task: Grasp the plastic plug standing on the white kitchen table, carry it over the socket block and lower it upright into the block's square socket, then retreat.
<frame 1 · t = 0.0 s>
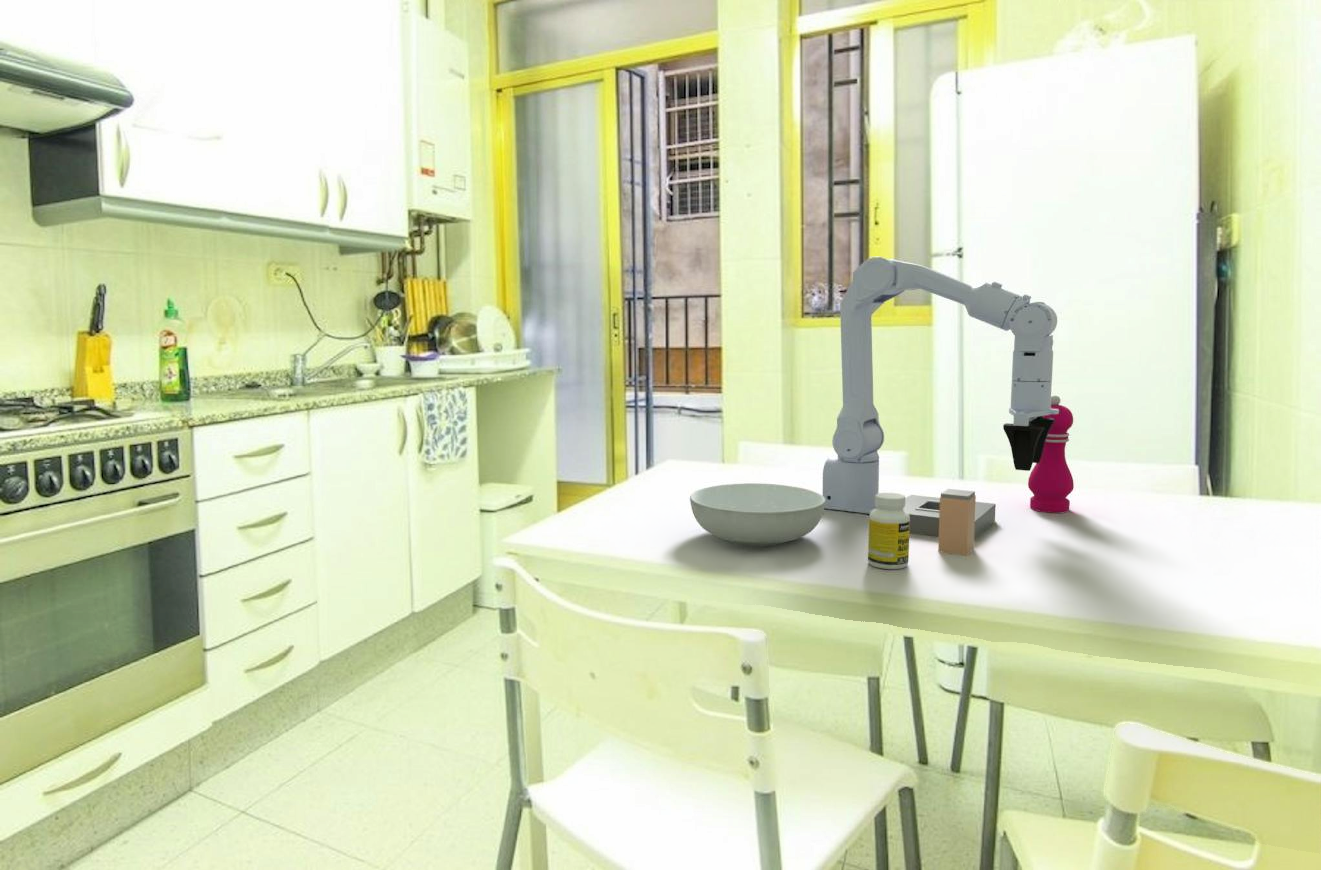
hand: (1027, 466, 129), 10 cm above the table, tool pointing down, fingers open, 7 cm apart
serving bowl: (757, 539, 127), on the table
supplement bottle: (888, 565, 112), on the table
pepper mill: (1049, 509, 143), on the table
plug: (956, 549, 119), on the table
socket block: (939, 525, 133), on the table
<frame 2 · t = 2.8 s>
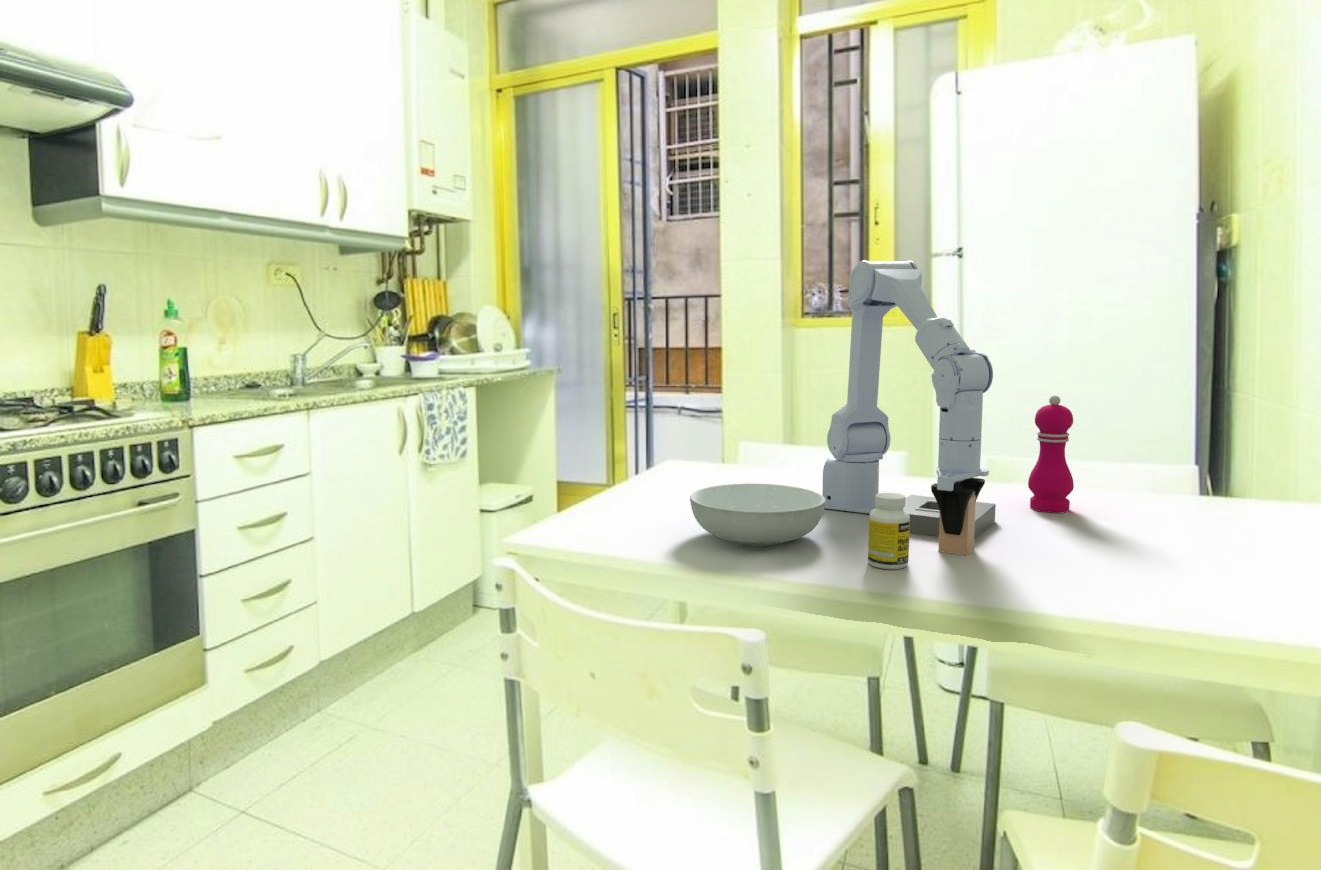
hand: (956, 530, 118), 3 cm above the table, tool pointing down, fingers closed on plug, 4 cm apart
plug: (956, 549, 119), on the table, touching gripper
everything else where it was.
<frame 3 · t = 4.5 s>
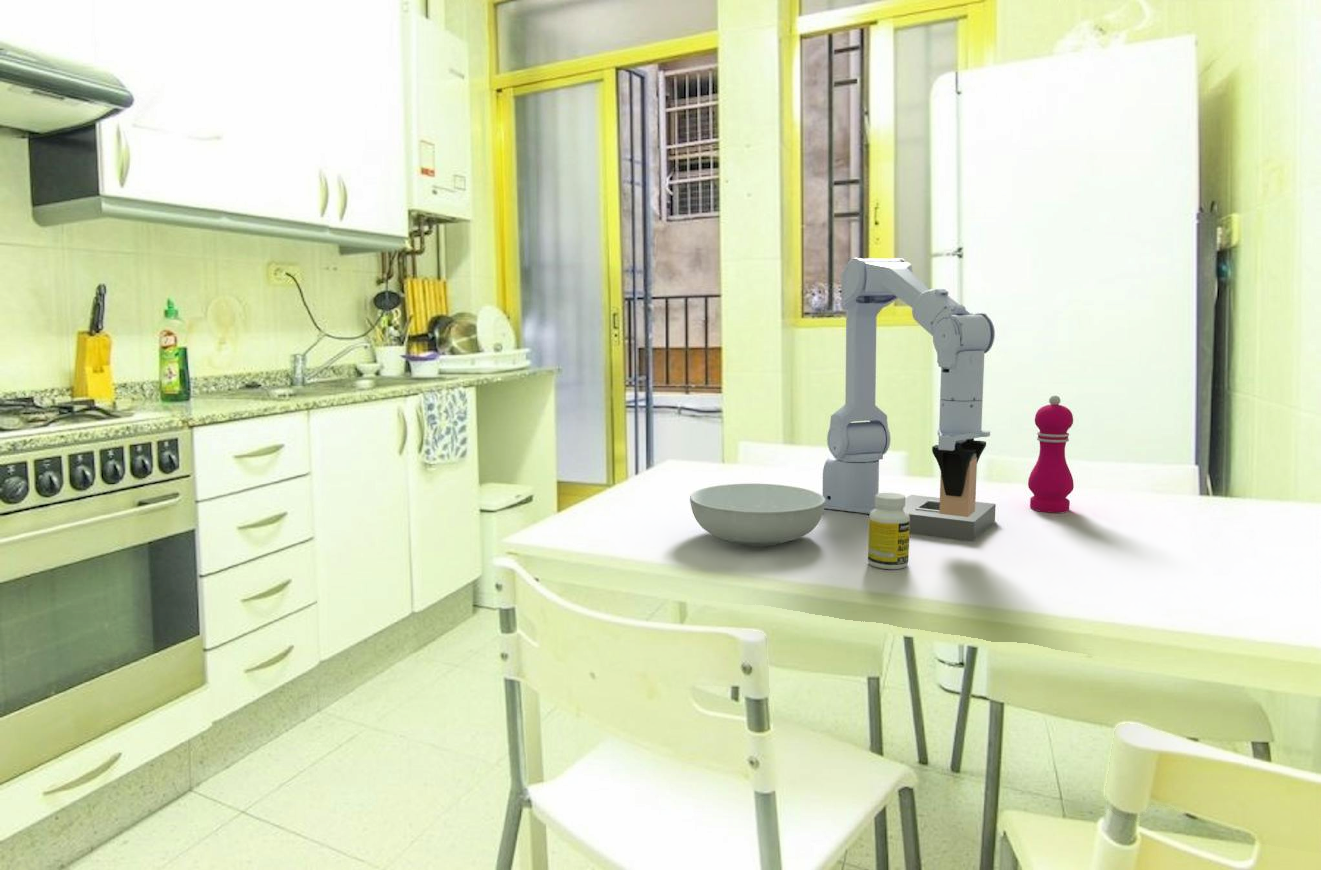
hand: (957, 492, 118), 9 cm above the table, tool pointing down, fingers closed on plug, 4 cm apart
plug: (957, 512, 118), point 6 cm above the table, touching gripper
everything else where it was.
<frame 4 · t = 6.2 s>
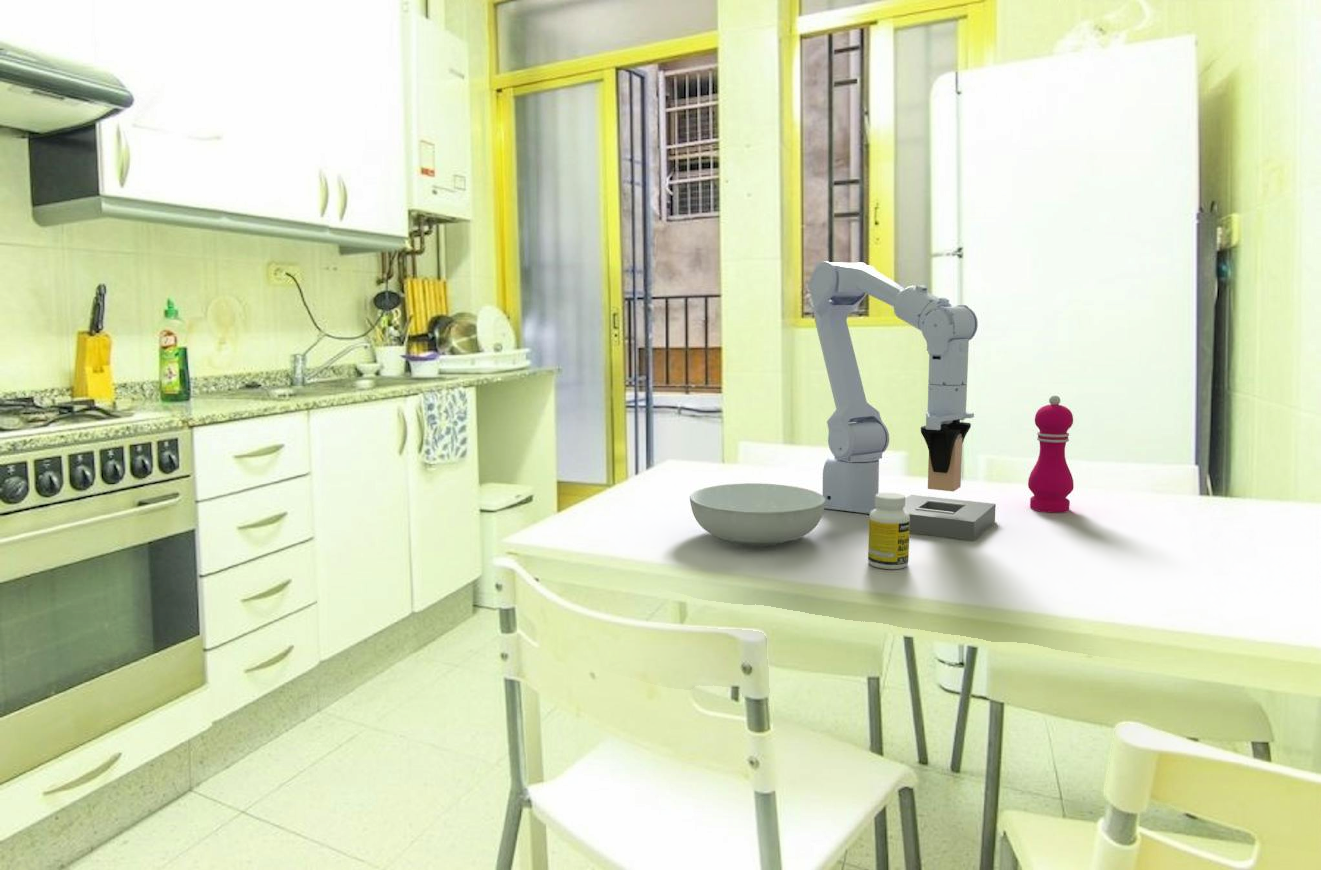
hand: (944, 469, 128), 10 cm above the table, tool pointing down, fingers closed on plug, 4 cm apart
plug: (944, 487, 129), point 7 cm above the table, touching gripper
everything else where it was.
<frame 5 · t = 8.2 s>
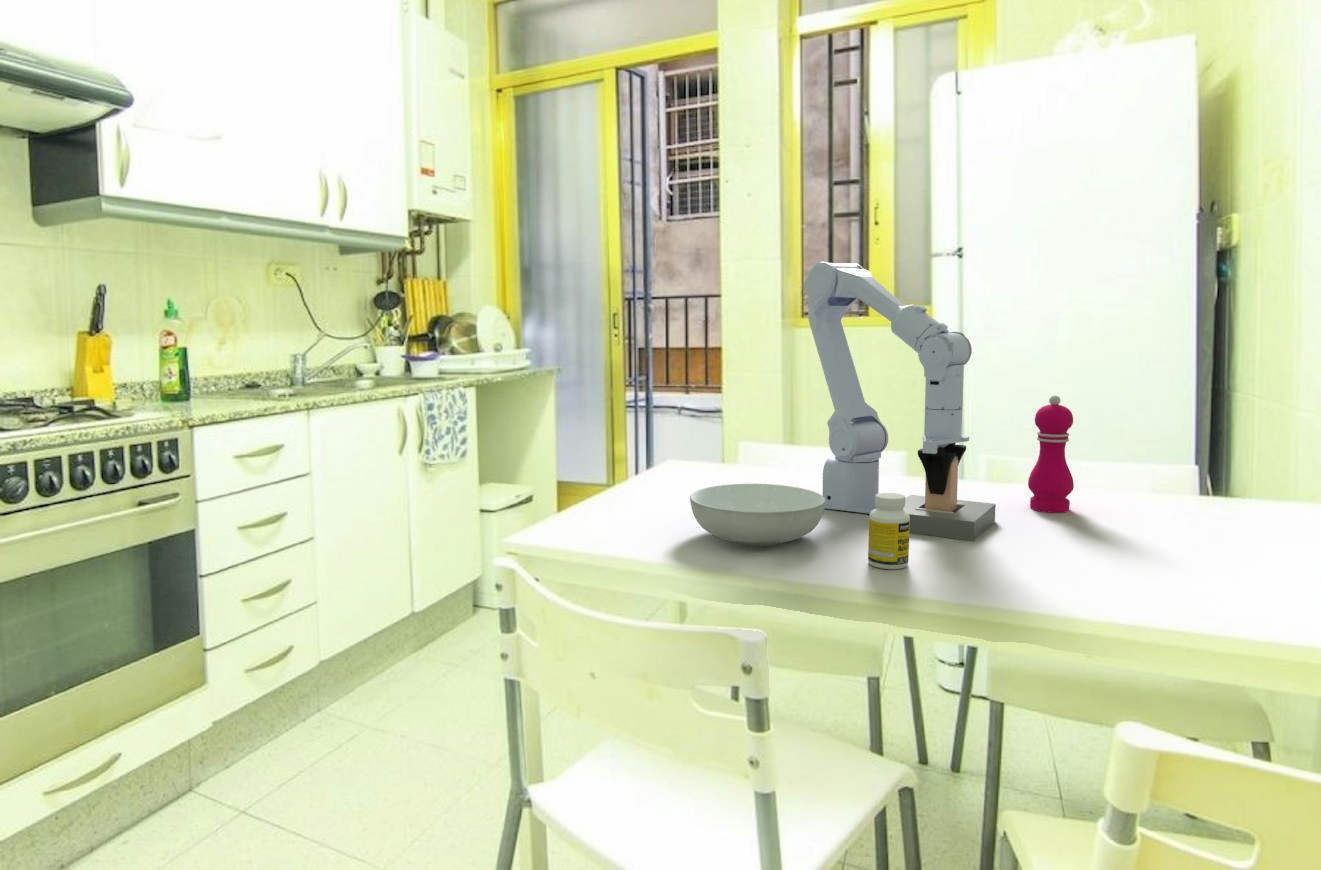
hand: (941, 491, 132), 6 cm above the table, tool pointing down, fingers closed on plug, 4 cm apart
plug: (940, 508, 132), point 3 cm above the table, touching gripper
everything else where it was.
when the fingers open (4 cm above the table, at t = 9.9 s): plug drops 2 cm, resting in socket block.
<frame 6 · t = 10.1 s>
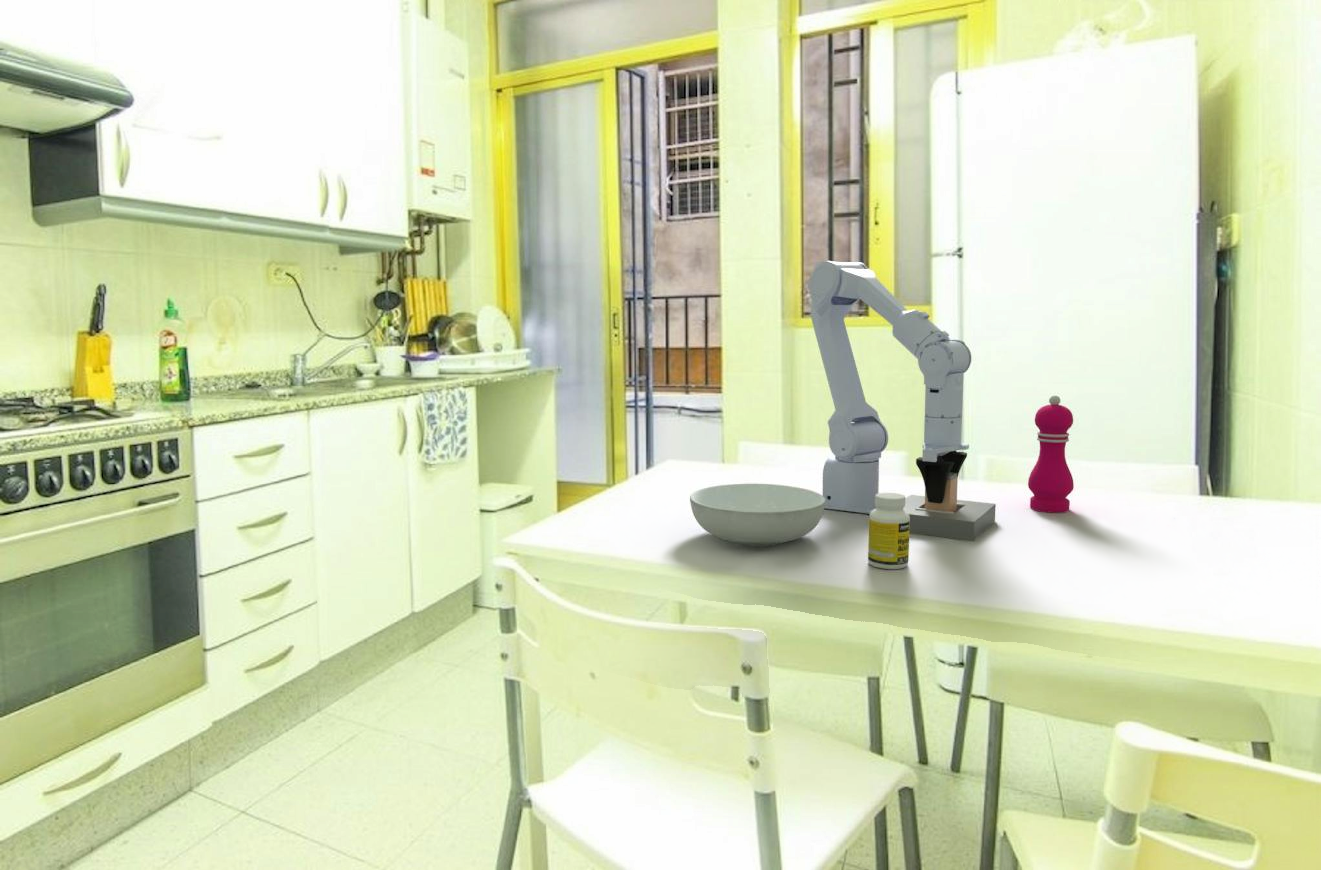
hand: (940, 498, 132), 4 cm above the table, tool pointing down, fingers open, 5 cm apart
plug: (940, 525, 133), resting in socket block
everything else where it was.
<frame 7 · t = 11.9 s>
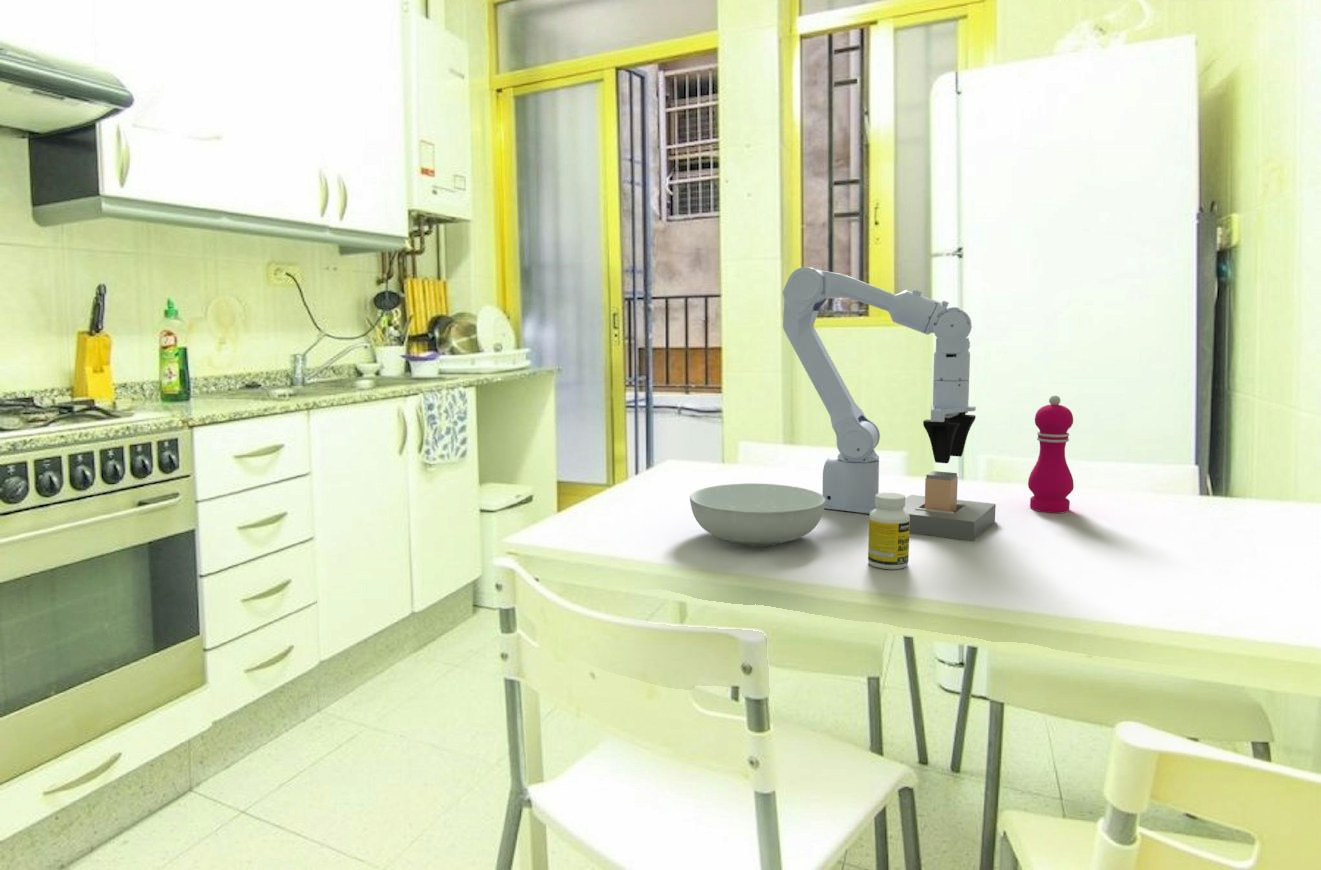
hand: (948, 459, 139), 10 cm above the table, tool pointing down, fingers open, 7 cm apart
nothing on the table moved.
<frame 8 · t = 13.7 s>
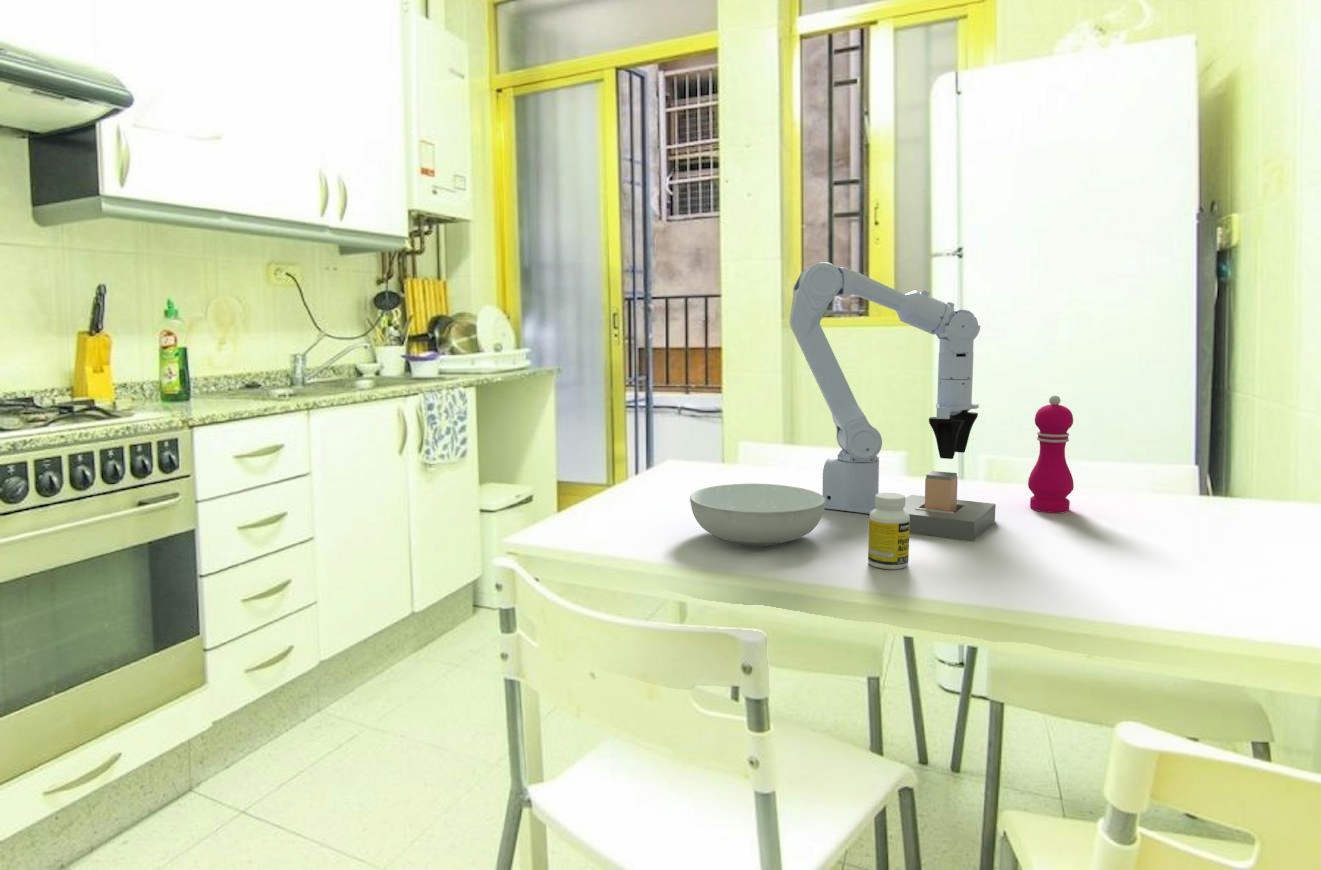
hand: (952, 455, 144), 9 cm above the table, tool pointing down, fingers open, 7 cm apart
nothing on the table moved.
at the end: plug 0.0 cm off-centre on the socket block, point 0.0 cm above the socket block's base; plug tilted 0°; the gripper is holding nothing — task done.
